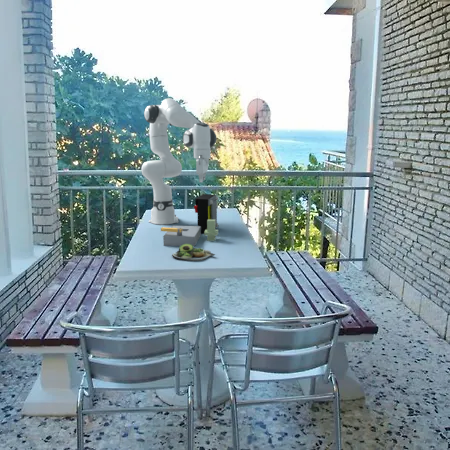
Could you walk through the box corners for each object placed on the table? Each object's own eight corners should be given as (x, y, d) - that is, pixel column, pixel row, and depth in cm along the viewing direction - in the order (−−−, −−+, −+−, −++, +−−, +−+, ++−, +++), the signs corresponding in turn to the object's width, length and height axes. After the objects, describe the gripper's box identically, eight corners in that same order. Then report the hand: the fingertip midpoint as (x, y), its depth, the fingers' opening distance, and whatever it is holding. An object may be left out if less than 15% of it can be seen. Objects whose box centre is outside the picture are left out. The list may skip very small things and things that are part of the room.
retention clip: (160, 234, 237) (160, 228, 236) (162, 233, 240) (162, 227, 239) (181, 235, 234) (180, 229, 234) (182, 234, 237) (182, 228, 236)
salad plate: (221, 253, 222) (221, 244, 221) (206, 264, 206) (206, 254, 205) (185, 249, 229) (185, 240, 228) (168, 259, 213) (167, 249, 212)
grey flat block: (172, 234, 259) (172, 225, 258) (201, 235, 258) (200, 226, 257) (163, 245, 236) (163, 235, 235) (194, 246, 234) (194, 236, 233)
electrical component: (212, 234, 259) (211, 199, 255) (194, 233, 261) (194, 198, 257) (218, 227, 276) (218, 194, 271) (202, 227, 278) (201, 194, 273)
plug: (205, 238, 251) (205, 218, 249) (218, 238, 251) (218, 218, 248) (204, 241, 244) (204, 221, 242) (217, 241, 244) (217, 221, 242)
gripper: (205, 156, 231) (205, 183, 234) (210, 153, 251) (210, 178, 254) (193, 156, 231) (193, 183, 234) (198, 153, 251) (199, 178, 254)
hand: (202, 181), depth 244 cm, fingers open, 8 cm apart
